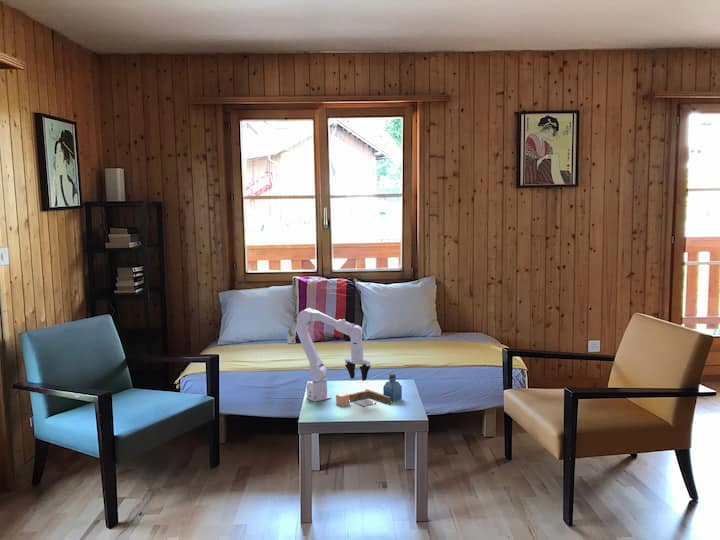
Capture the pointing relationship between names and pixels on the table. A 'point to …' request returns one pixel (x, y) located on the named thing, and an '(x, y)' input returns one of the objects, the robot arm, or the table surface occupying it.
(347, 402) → the terracotta cube
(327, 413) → the table surface
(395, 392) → the perfume bottle
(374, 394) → the corner arena
